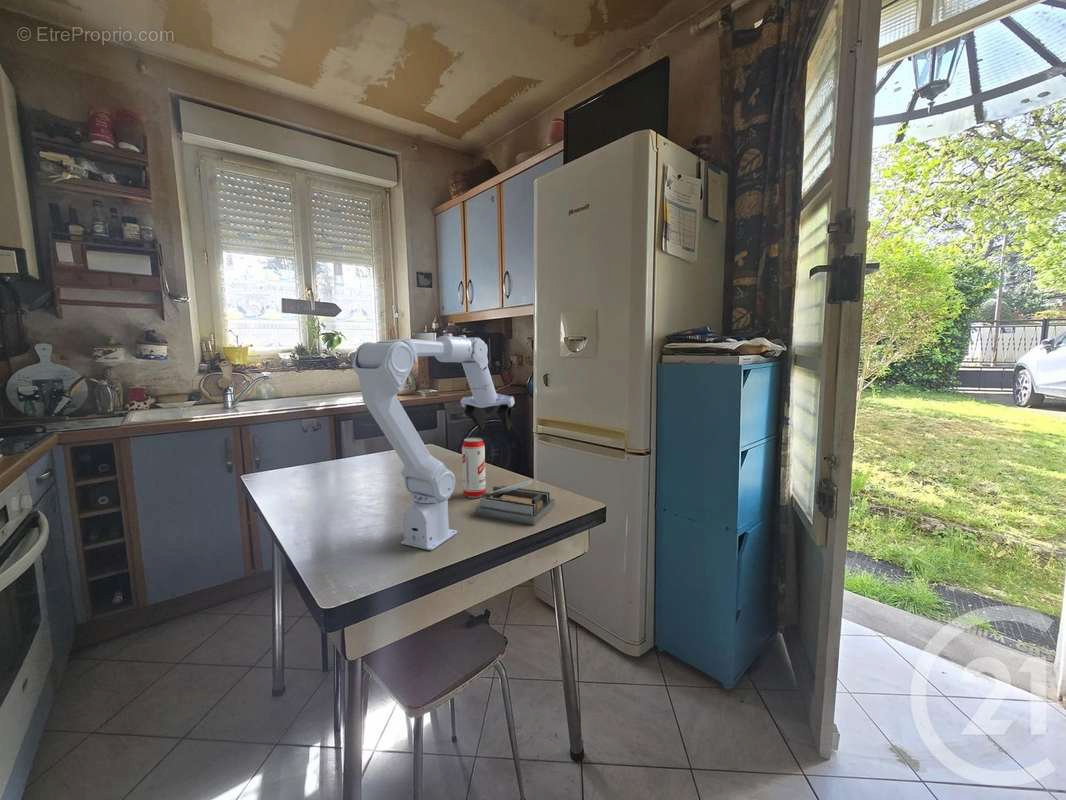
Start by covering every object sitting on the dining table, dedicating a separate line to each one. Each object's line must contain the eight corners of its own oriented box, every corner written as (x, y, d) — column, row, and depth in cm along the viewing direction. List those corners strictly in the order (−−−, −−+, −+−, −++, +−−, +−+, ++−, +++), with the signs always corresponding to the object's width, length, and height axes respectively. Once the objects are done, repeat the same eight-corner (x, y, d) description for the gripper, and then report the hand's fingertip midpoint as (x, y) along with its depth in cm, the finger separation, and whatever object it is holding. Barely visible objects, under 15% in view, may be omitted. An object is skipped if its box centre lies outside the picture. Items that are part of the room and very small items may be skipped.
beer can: (487, 491, 123) (486, 437, 121) (483, 499, 117) (481, 441, 115) (466, 491, 124) (464, 437, 122) (460, 498, 117) (459, 441, 116)
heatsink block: (534, 525, 99) (534, 506, 99) (475, 515, 106) (474, 497, 105) (554, 506, 111) (554, 489, 110) (500, 498, 117) (500, 482, 117)
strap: (528, 486, 104) (526, 482, 104) (487, 498, 109) (485, 494, 109) (534, 481, 107) (533, 478, 107) (494, 493, 113) (493, 490, 113)
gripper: (513, 374, 105) (526, 420, 112) (464, 376, 111) (479, 419, 118) (501, 389, 100) (516, 436, 106) (450, 390, 106) (466, 434, 112)
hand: (495, 428), depth 112 cm, fingers open, 7 cm apart
